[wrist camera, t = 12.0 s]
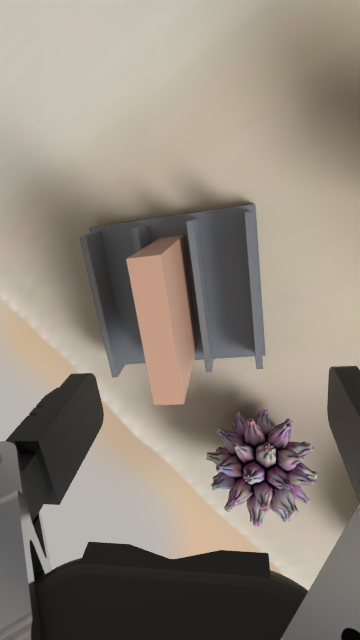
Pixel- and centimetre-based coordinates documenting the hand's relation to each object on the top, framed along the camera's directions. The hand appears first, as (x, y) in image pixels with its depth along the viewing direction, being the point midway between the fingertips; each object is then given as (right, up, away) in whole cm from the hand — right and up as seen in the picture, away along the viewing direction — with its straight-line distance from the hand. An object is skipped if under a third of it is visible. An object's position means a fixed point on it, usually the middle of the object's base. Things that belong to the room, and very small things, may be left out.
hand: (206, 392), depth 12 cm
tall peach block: (-1, +5, +25) cm, 26 cm away
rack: (-1, +6, +26) cm, 27 cm away
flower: (+9, -11, +32) cm, 35 cm away
